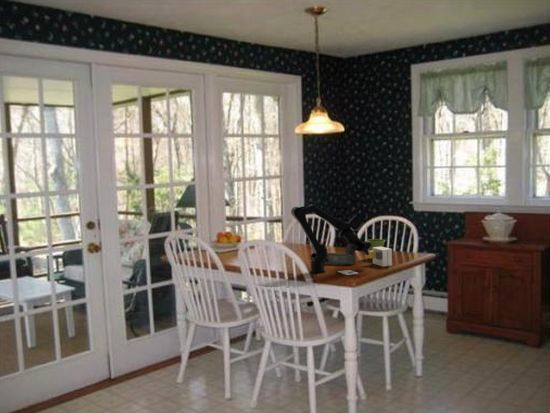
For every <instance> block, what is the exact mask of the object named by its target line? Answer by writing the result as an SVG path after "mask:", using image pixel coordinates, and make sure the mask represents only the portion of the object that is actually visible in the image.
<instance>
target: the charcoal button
mask: <svg viewBox="0 0 550 413" xmlns="http://www.w3.org/2000/svg"><path fill="white" fill-rule="evenodd" d="M376 259H379V260H380V259H382V252H380V251H379V252H376Z"/></svg>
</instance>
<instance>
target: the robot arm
mask: <svg viewBox="0 0 550 413" xmlns="http://www.w3.org/2000/svg"><path fill="white" fill-rule="evenodd" d="M312 213H313V214H314V215H315V216H318V217H319V218H320V219H322V220H324V221H325V222H327V223H328V224H329V225H330V226H331V227H332V228H333V229H334V230H336V231H338V234H337V235H338V236H337V237H338V238H340V239H342V238H344V240H346V248H345V251H344V253H346V254H348V255H351V256H353V254H354V253H355V254H356V252H360V253H362V254H364V255H366V256H367V255H369V253H368V251H369V248H370V246H371V245H372V244H371V243H370V242H367V241H366V240H365V241H363V239H362V238H360V237H359V235H358V234H356V233H355V231H358V230H359V229H360V228H362V226H363V225H364V222H363V221H362V220H361V219H360V218H359V217H357V216H356V215H353V216H352V218H351V219H350V220H349V221H344V220H342V219H339V218H337V217H334V216H332V215H330V214H329V213H327V212H325V211H324V210H323V209H321V208H319V207H317V206H316V205H315V204H312V203H311V204H309V205H304V206H293V207H292V209H291V211H290V214H291V216H292V217H293V218H294V219H295V220H296V221H297V222H298V223H299V225H300V226H301V228H302V230H303V232H304V233H305V236H306V238H307V239H308V241H309V243H310V244H311V248H312V254H311V255H310V256H309V258H310V269H311V270H309V272H310V273H314V274H321V273H326V270H325V264H324V263H323V262H324V258H325V257H326V256H327V253H328V248H326V246H325V244H324V243H322V242H319V240H318V239H317V237H316V235H315V233H314V231H313V230H312V228H311V226H310V224H309V223H308V220H307V217H306V216H307V215H309V214H312Z"/></svg>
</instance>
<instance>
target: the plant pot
mask: <svg viewBox="0 0 550 413" xmlns="http://www.w3.org/2000/svg"><path fill="white" fill-rule="evenodd" d="M365 241H367V242H370V243H371V244H372V245H371V246H370V248H369V249H368V251H371V250H372V247H385V246H384V245H385V242H386V239H381V238H372V239H371V238H370V239H366V240H365ZM371 260H373V258H371Z"/></svg>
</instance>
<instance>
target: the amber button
mask: <svg viewBox="0 0 550 413" xmlns="http://www.w3.org/2000/svg"><path fill="white" fill-rule="evenodd" d="M376 252H377V251H375V250H371V251H369V250H368V253H369V255H366V258H367V259H371V258H376ZM371 260H372V259H371Z"/></svg>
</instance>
